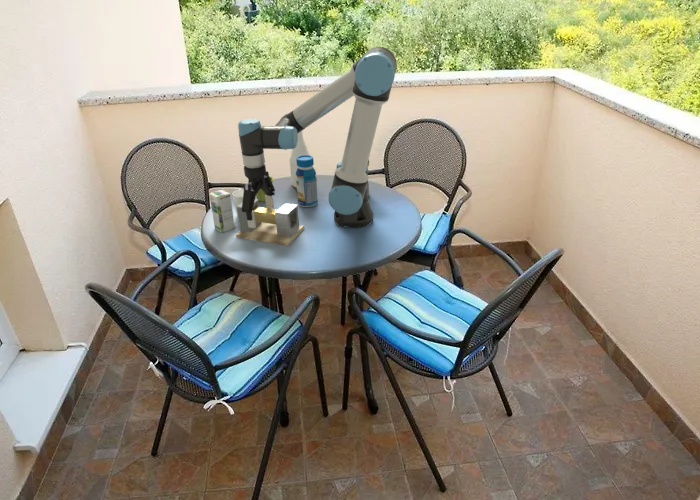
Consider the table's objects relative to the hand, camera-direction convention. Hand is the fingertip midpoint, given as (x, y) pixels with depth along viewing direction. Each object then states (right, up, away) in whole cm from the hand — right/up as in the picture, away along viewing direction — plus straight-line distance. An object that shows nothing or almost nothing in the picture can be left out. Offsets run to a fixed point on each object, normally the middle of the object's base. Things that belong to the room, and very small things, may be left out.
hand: (261, 219), depth 189 cm
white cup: (-9, +2, +15) cm, 17 cm away
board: (+3, -5, +1) cm, 6 cm away
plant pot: (-4, +10, +29) cm, 31 cm away
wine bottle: (+11, +18, +41) cm, 47 cm away
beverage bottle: (+15, +8, +23) cm, 29 cm away
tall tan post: (+2, 0, 0) cm, 2 cm away
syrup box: (-15, -3, +6) cm, 16 cm away
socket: (-5, -3, +3) cm, 6 cm away
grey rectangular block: (+10, -5, -2) cm, 11 cm away
